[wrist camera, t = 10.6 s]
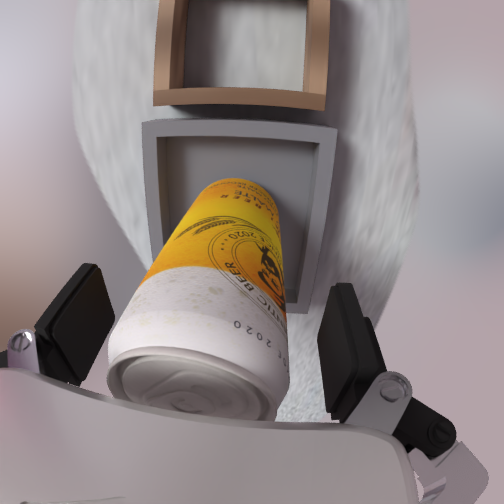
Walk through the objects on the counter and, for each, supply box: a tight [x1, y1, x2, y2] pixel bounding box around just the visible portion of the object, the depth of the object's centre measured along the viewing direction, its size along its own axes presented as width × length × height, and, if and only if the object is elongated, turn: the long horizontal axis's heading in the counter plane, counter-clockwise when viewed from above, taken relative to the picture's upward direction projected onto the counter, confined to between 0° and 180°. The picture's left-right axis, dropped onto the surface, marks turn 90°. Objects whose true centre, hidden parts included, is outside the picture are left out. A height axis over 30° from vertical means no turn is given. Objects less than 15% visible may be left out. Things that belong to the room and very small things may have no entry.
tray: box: [142, 118, 338, 314], centre depth 20 cm, size 14×12×2 cm
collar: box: [153, 0, 330, 111], centre depth 14 cm, size 10×10×3 cm
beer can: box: [107, 178, 290, 421], centre depth 14 cm, size 6×6×15 cm
